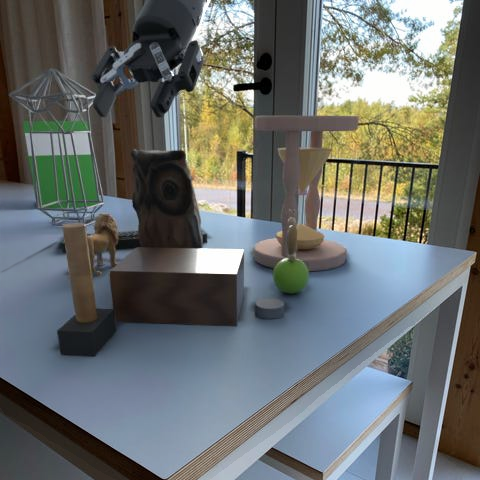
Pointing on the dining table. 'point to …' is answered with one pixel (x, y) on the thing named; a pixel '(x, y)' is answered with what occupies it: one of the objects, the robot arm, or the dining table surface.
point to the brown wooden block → (179, 286)
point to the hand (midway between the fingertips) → (126, 112)
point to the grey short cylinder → (269, 308)
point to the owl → (165, 200)
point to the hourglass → (303, 190)
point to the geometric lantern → (37, 89)
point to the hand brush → (83, 300)
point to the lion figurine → (103, 240)
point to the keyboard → (131, 240)
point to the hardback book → (46, 163)
